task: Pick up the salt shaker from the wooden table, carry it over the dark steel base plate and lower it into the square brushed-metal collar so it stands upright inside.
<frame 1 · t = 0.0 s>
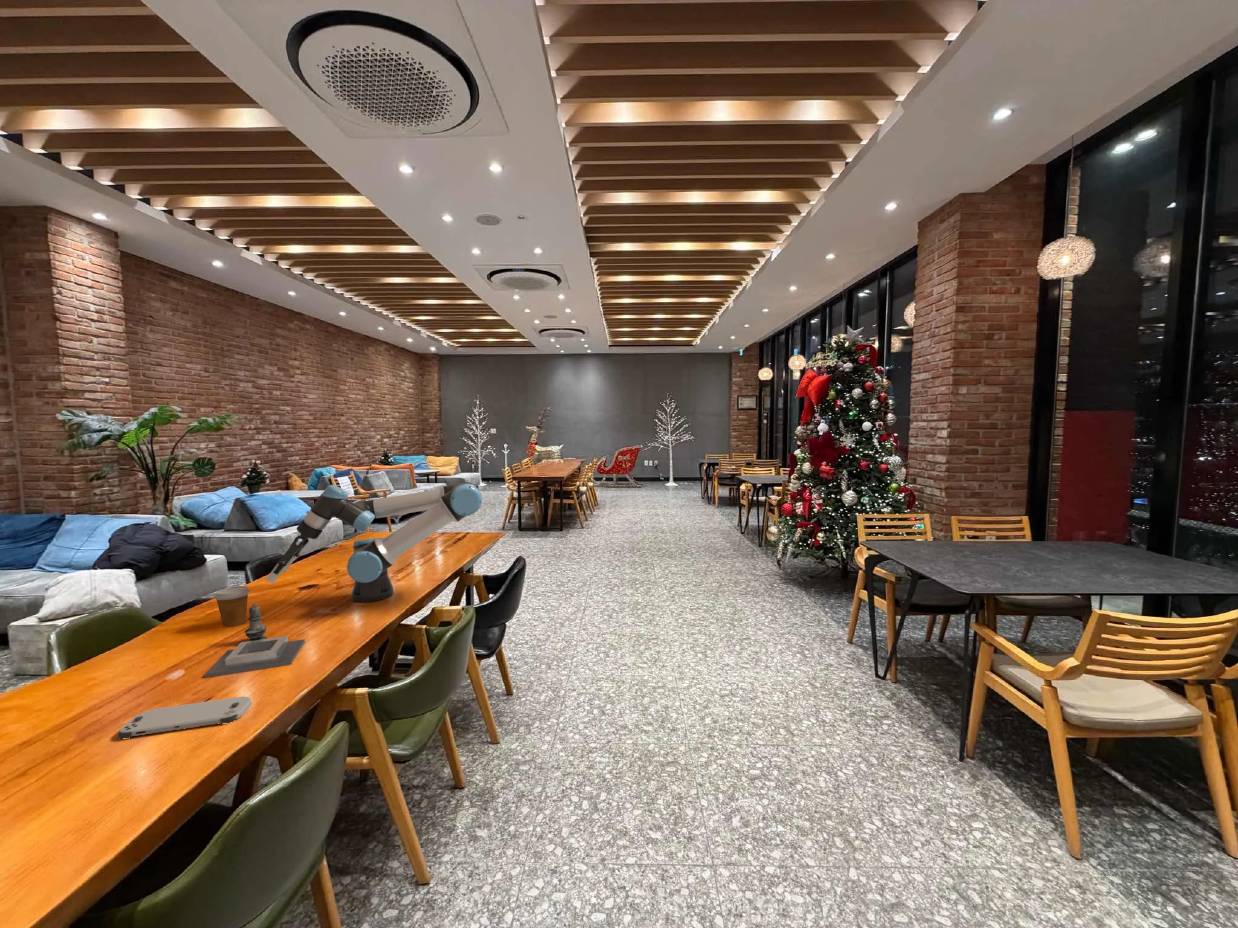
hand: (275, 576, 178), 15 cm above the table, tool tilted 35°, fingers open, 13 cm apart
disposable coffee cup: (234, 624, 174), on the table
handheld gaming console: (189, 721, 116), on the table
collar plate: (258, 658, 147), on the table
salt shaker: (256, 640, 160), on the table
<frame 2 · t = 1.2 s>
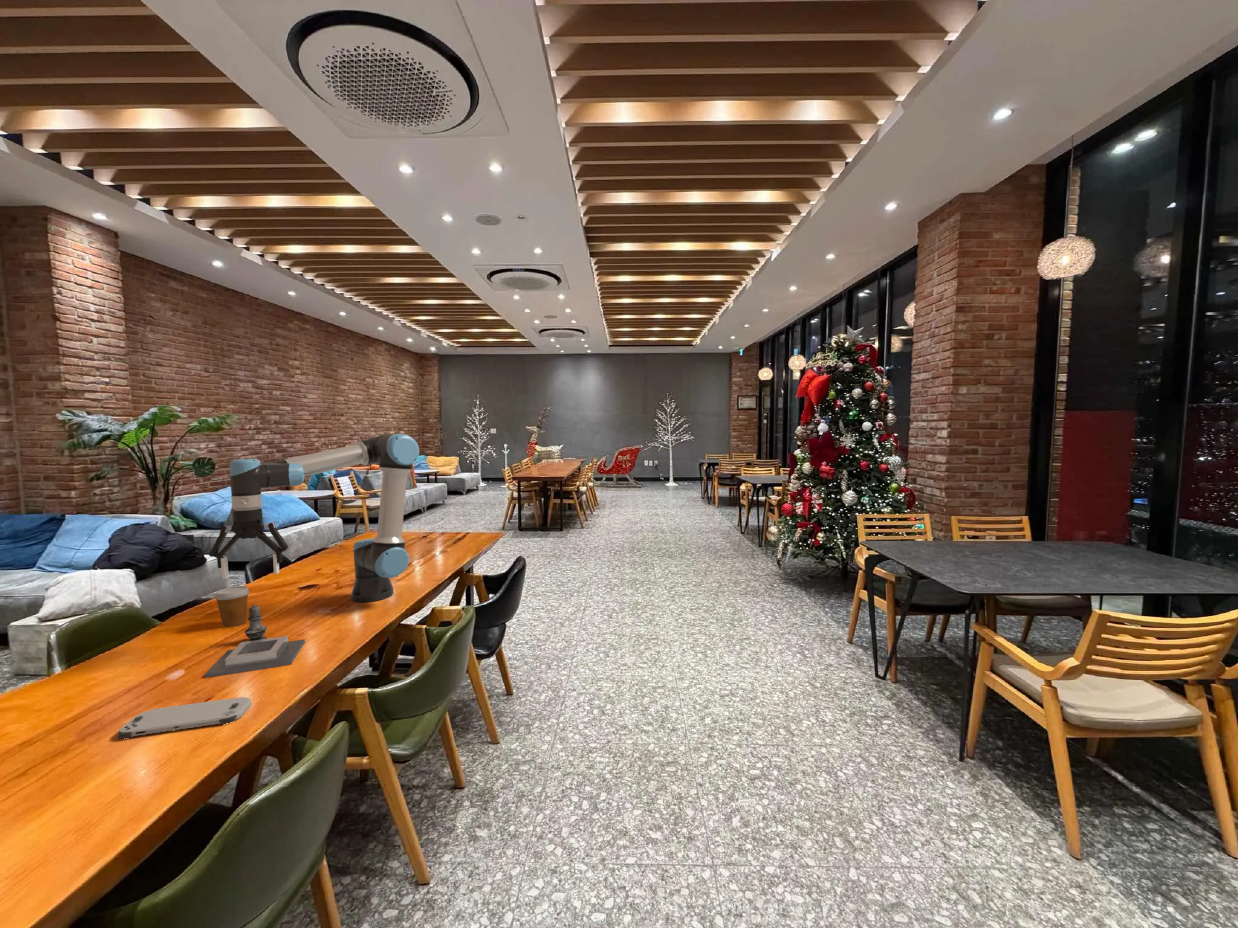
hand: (251, 575, 158), 21 cm above the table, tool pointing down, fingers open, 13 cm apart
nothing on the table moved.
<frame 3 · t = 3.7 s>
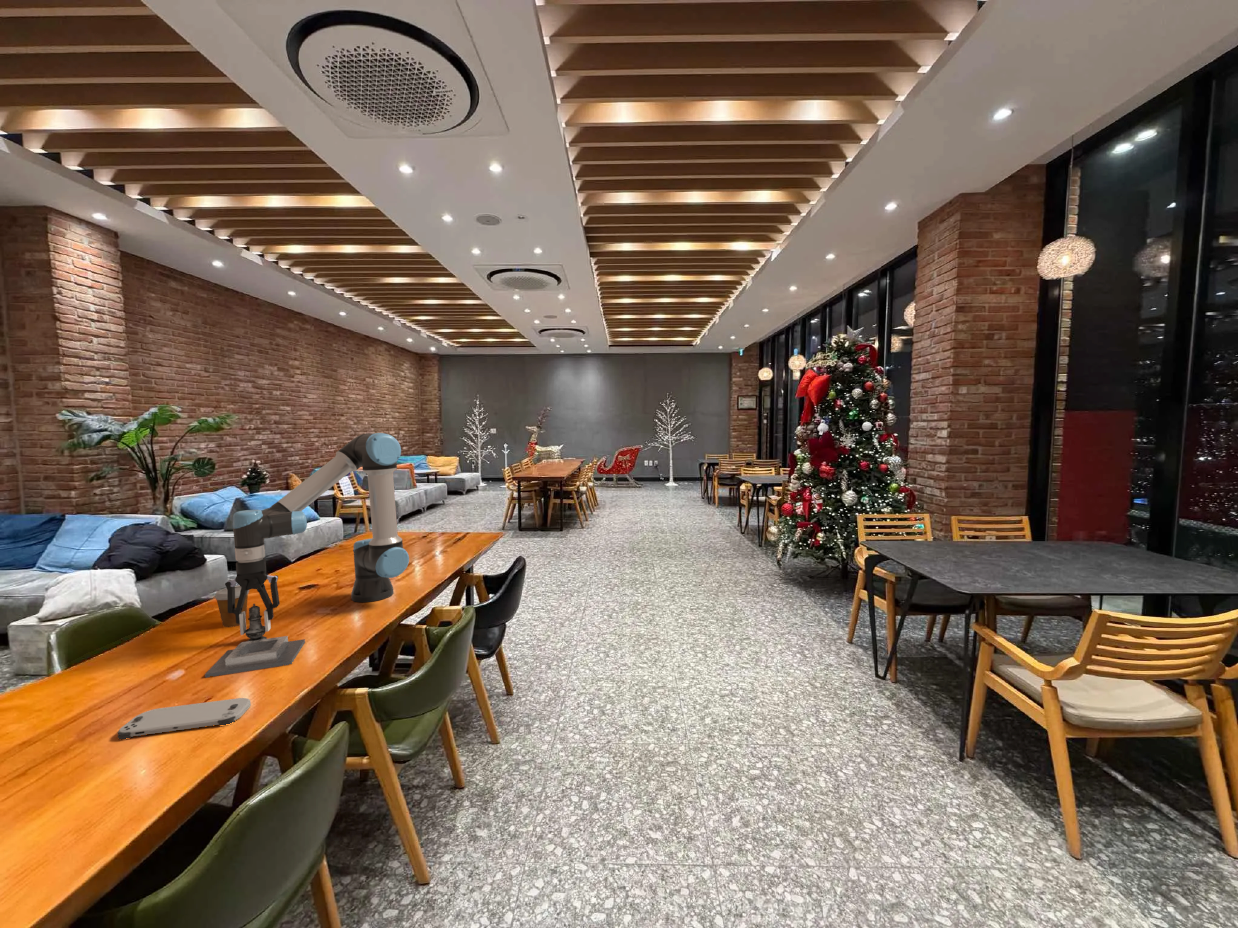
hand: (255, 631, 160), 3 cm above the table, tool pointing down, fingers closed on salt shaker, 6 cm apart
salt shaker: (256, 640, 160), on the table, touching gripper
everything else where it was.
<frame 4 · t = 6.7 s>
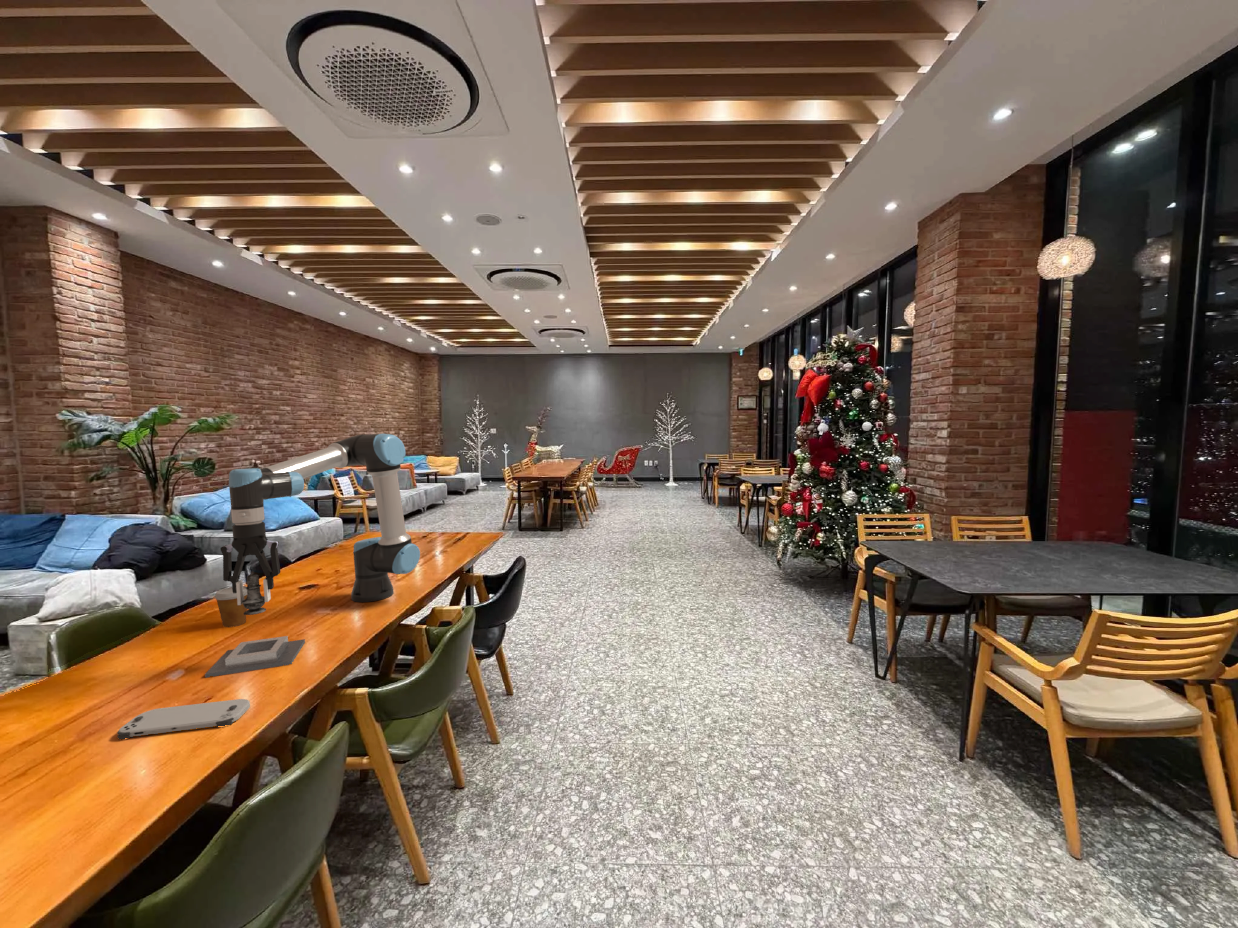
hand: (254, 601, 145), 17 cm above the table, tool pointing down, fingers closed on salt shaker, 6 cm apart
salt shaker: (255, 612, 146), point 14 cm above the table, touching gripper
everything else where it was.
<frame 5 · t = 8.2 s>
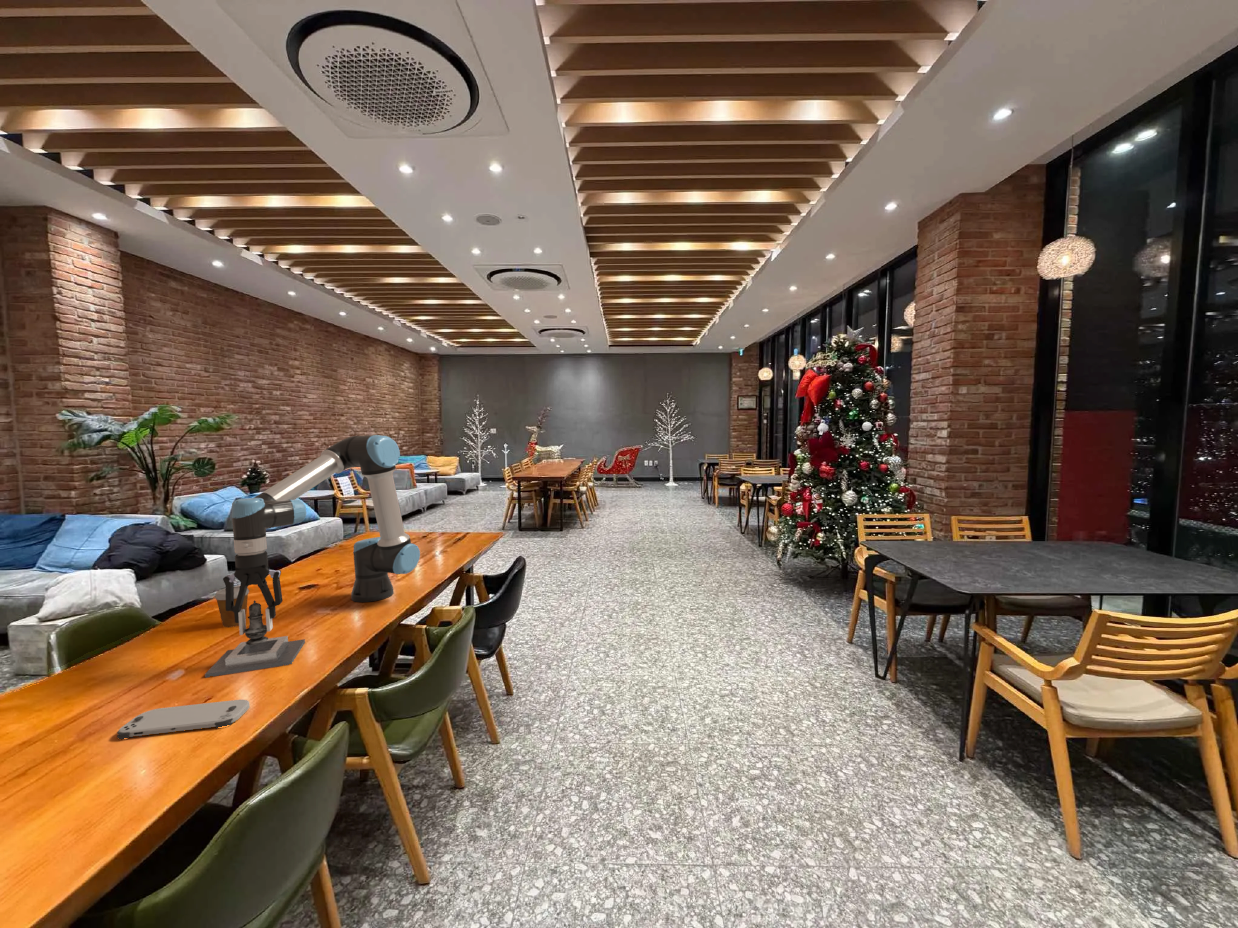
hand: (256, 631, 146), 8 cm above the table, tool pointing down, fingers closed on salt shaker, 6 cm apart
salt shaker: (257, 641, 146), point 5 cm above the table, touching gripper
everything else where it was.
when the fingers open (5 cm above the table, at t = 9.6 s): salt shaker stays where it is, resting on collar plate.
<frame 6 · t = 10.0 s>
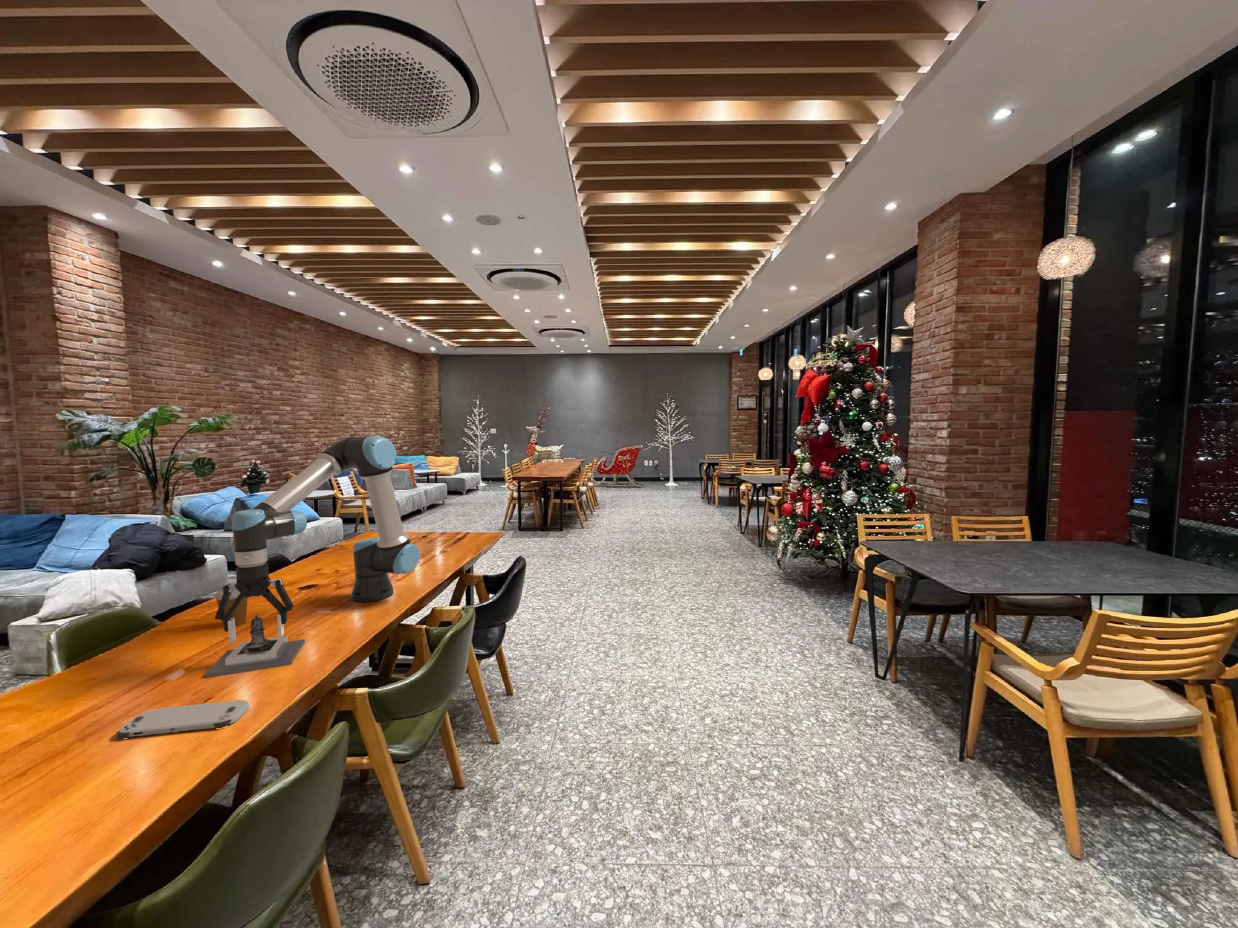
hand: (257, 638, 146), 6 cm above the table, tool pointing down, fingers open, 11 cm apart
salt shaker: (259, 655, 147), point 1 cm above the table, touching collar plate
everything else where it was.
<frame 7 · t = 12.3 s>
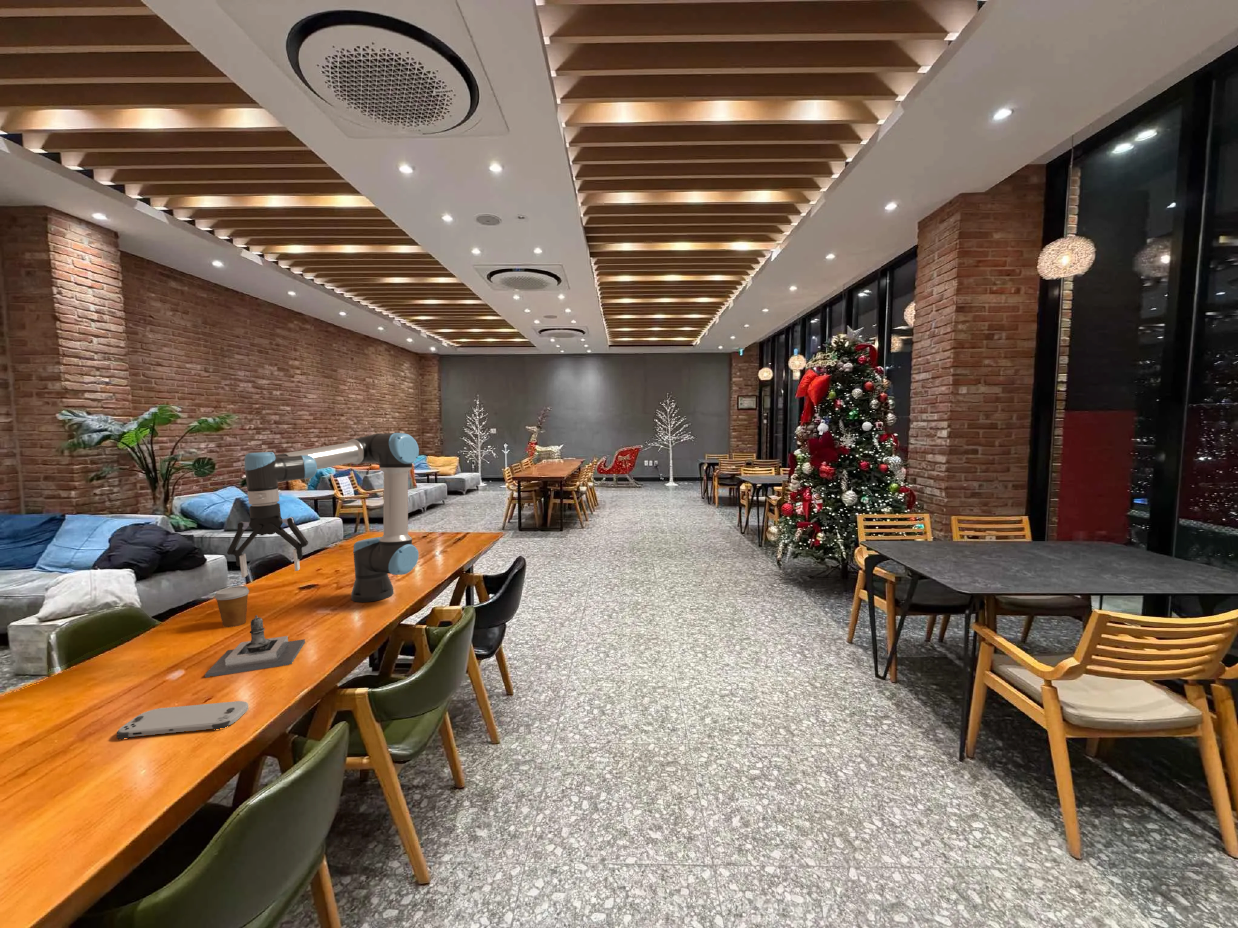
hand: (271, 573, 153), 23 cm above the table, tool pointing down, fingers open, 13 cm apart
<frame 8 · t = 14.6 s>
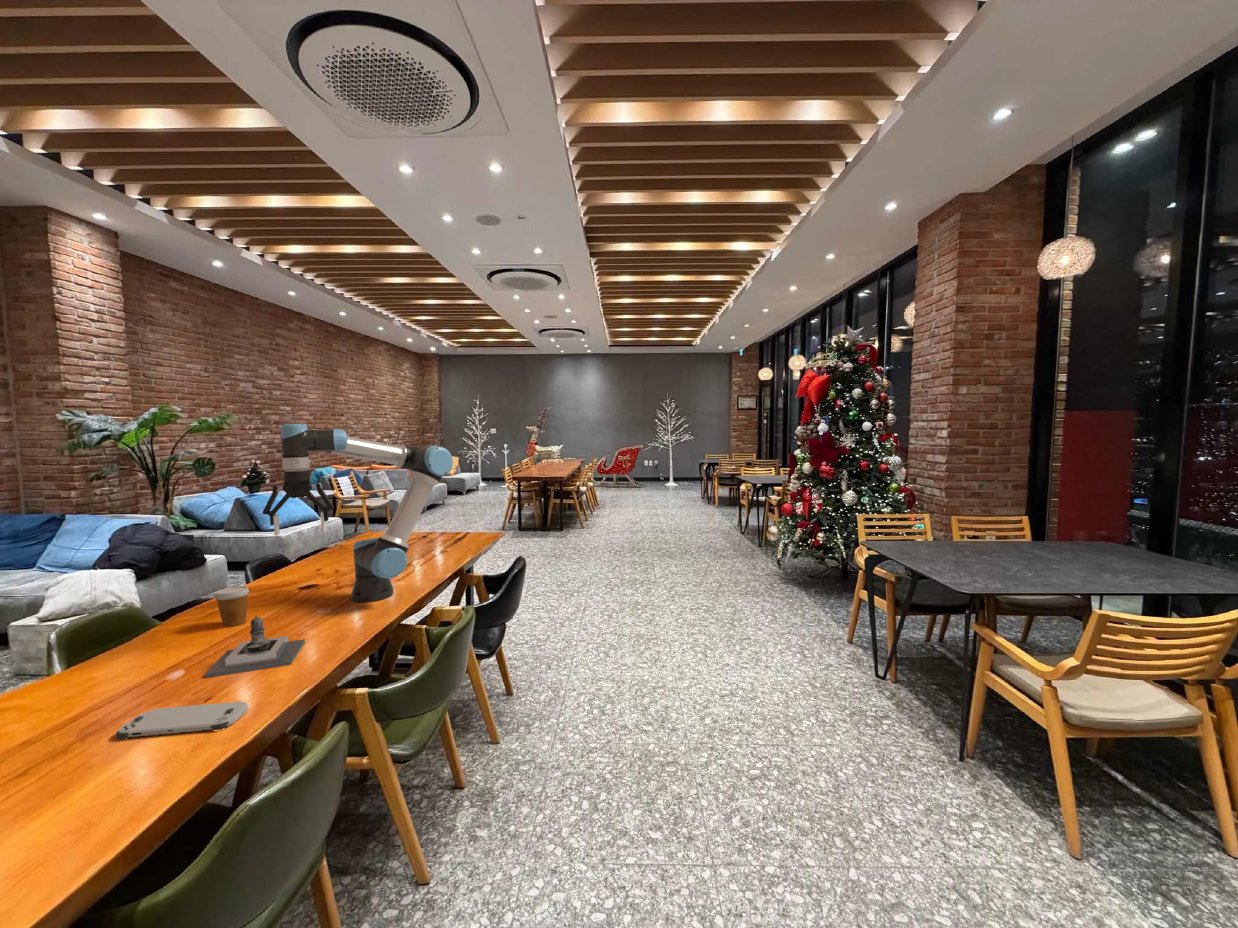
hand: (300, 532, 170), 32 cm above the table, tool pointing down, fingers open, 13 cm apart
at the end: salt shaker 0.1 cm off-centre on the collar plate, point 0.8 cm above the collar plate's base; salt shaker tilted 0°; the gripper is holding nothing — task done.
